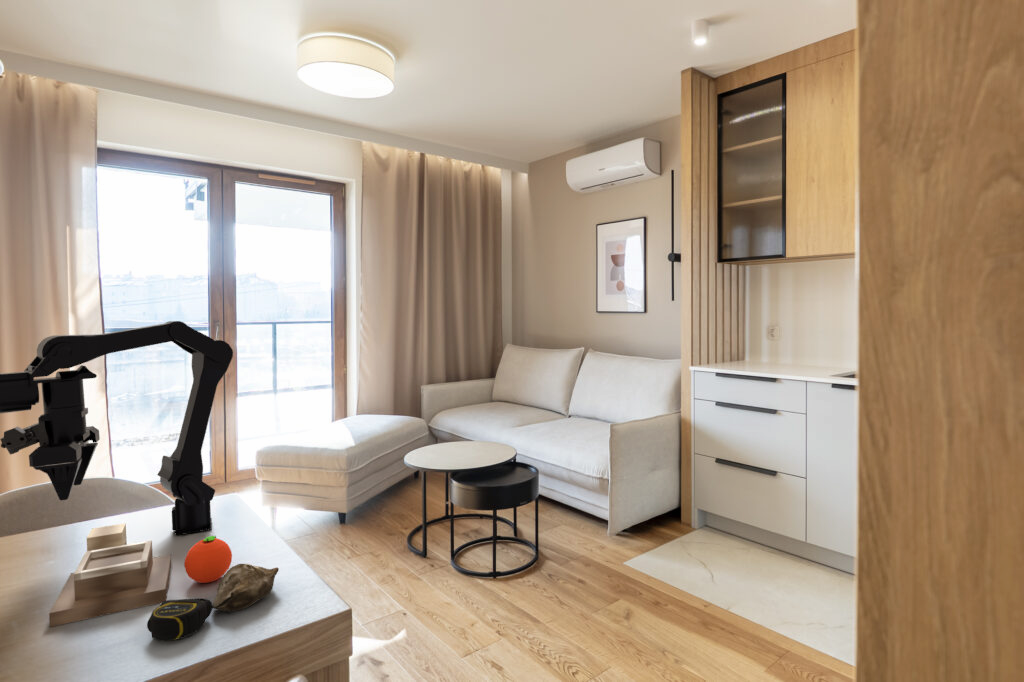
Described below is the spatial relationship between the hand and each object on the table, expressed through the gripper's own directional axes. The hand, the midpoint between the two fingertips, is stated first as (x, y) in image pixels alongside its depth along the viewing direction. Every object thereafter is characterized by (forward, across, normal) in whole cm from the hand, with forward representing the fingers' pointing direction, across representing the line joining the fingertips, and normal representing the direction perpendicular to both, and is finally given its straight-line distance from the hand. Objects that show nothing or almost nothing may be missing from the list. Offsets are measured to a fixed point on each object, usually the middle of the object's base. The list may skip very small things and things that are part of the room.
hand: (71, 492), depth 99 cm
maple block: (+13, +4, +6) cm, 14 cm away
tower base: (+13, +18, +9) cm, 24 cm away
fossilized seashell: (+13, +30, +27) cm, 43 cm away
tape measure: (+13, +34, +19) cm, 41 cm away
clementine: (+13, +20, +22) cm, 32 cm away
